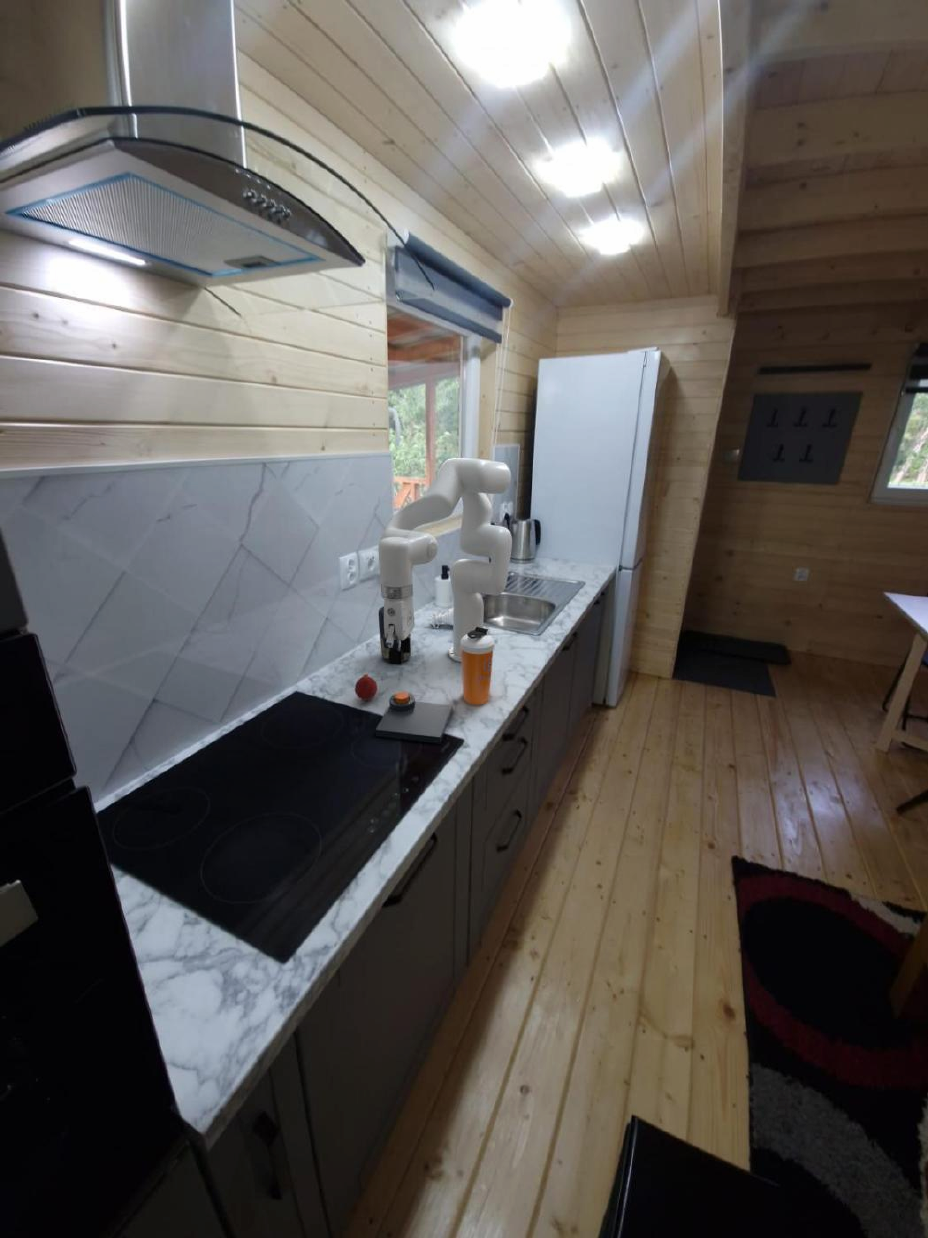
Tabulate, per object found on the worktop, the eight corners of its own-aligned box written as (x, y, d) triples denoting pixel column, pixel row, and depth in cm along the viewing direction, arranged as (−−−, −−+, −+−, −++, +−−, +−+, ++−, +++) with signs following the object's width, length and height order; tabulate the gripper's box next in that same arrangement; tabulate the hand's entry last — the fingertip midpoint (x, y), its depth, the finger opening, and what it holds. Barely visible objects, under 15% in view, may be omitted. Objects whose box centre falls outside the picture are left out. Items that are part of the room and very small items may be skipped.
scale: (394, 702, 133) (393, 691, 132) (453, 709, 130) (453, 697, 129) (374, 736, 119) (374, 723, 118) (440, 744, 117) (440, 731, 115)
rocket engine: (423, 601, 178) (472, 592, 176) (430, 611, 189) (476, 603, 187) (427, 631, 174) (477, 622, 172) (434, 640, 185) (481, 631, 183)
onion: (373, 707, 131) (371, 680, 128) (352, 704, 132) (350, 678, 129) (380, 696, 136) (379, 670, 133) (361, 693, 137) (359, 668, 134)
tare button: (397, 696, 130) (397, 691, 130) (410, 697, 130) (410, 692, 129) (393, 703, 127) (393, 698, 127) (406, 704, 127) (406, 699, 126)
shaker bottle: (455, 702, 133) (455, 635, 126) (467, 687, 141) (467, 622, 134) (486, 709, 130) (488, 640, 123) (496, 693, 138) (499, 627, 131)
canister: (414, 652, 162) (413, 601, 155) (406, 666, 153) (404, 611, 146) (386, 650, 163) (383, 598, 156) (377, 663, 154) (373, 609, 148)
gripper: (401, 603, 109) (404, 675, 115) (421, 580, 124) (423, 644, 131) (368, 601, 110) (373, 672, 117) (393, 578, 126) (396, 642, 132)
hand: (400, 657), depth 124 cm, fingers open, 6 cm apart
